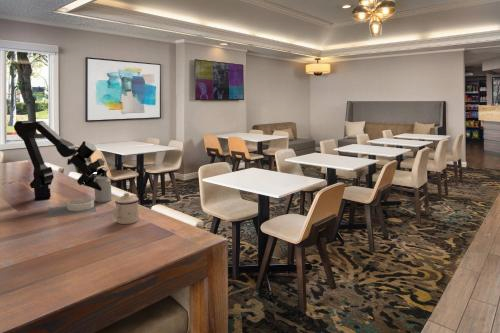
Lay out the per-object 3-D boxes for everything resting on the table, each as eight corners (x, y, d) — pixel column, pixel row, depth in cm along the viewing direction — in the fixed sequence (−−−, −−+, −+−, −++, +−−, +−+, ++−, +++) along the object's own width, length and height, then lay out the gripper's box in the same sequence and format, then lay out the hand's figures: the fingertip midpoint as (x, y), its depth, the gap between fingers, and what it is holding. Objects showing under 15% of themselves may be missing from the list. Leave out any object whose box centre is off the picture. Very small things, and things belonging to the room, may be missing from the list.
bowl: (67, 212, 164) (66, 205, 163) (67, 206, 174) (66, 199, 173) (95, 209, 168) (94, 202, 168) (93, 203, 178) (92, 197, 178)
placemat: (47, 218, 157) (47, 217, 157) (48, 208, 171) (48, 207, 171) (96, 212, 165) (96, 211, 165) (94, 203, 179) (94, 202, 179)
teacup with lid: (127, 216, 160) (126, 189, 158) (144, 219, 156) (143, 191, 154) (105, 224, 149) (103, 196, 147) (123, 228, 145) (121, 198, 143)
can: (106, 203, 179) (104, 179, 177) (92, 203, 180) (90, 178, 178) (114, 199, 186) (113, 175, 184) (101, 199, 187) (99, 175, 185)
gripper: (81, 156, 171) (105, 181, 171) (103, 150, 189) (125, 173, 189) (66, 173, 173) (90, 197, 173) (89, 166, 191) (111, 188, 192)
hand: (105, 188), depth 182 cm, fingers closed on can, 7 cm apart
